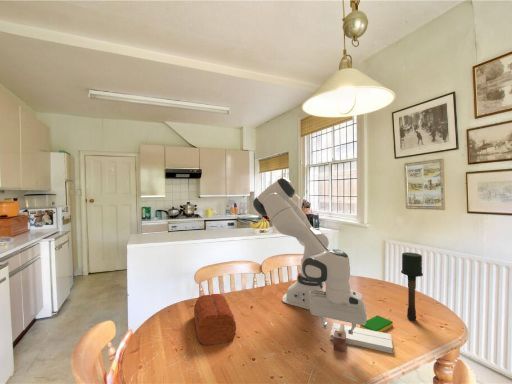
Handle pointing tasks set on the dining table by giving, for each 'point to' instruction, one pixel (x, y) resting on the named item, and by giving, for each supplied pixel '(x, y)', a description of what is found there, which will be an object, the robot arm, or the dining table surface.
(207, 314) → the bread
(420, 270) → the potato masher grenade
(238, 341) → the dining table surface
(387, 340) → the board
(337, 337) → the block
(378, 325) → the dish sponge
